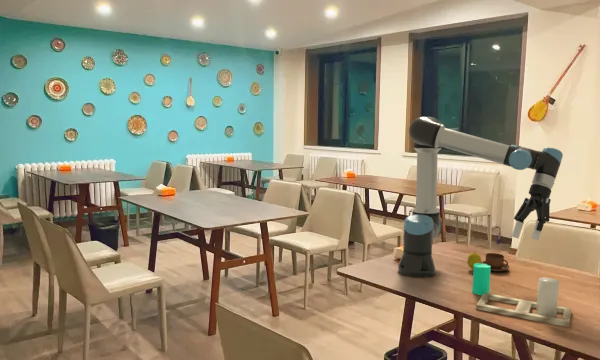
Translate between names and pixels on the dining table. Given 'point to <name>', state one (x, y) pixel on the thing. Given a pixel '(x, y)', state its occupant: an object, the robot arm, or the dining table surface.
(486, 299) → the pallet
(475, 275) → the candle
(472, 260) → the lemon
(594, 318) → the dining table surface
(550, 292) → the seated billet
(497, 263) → the cup and saucer
